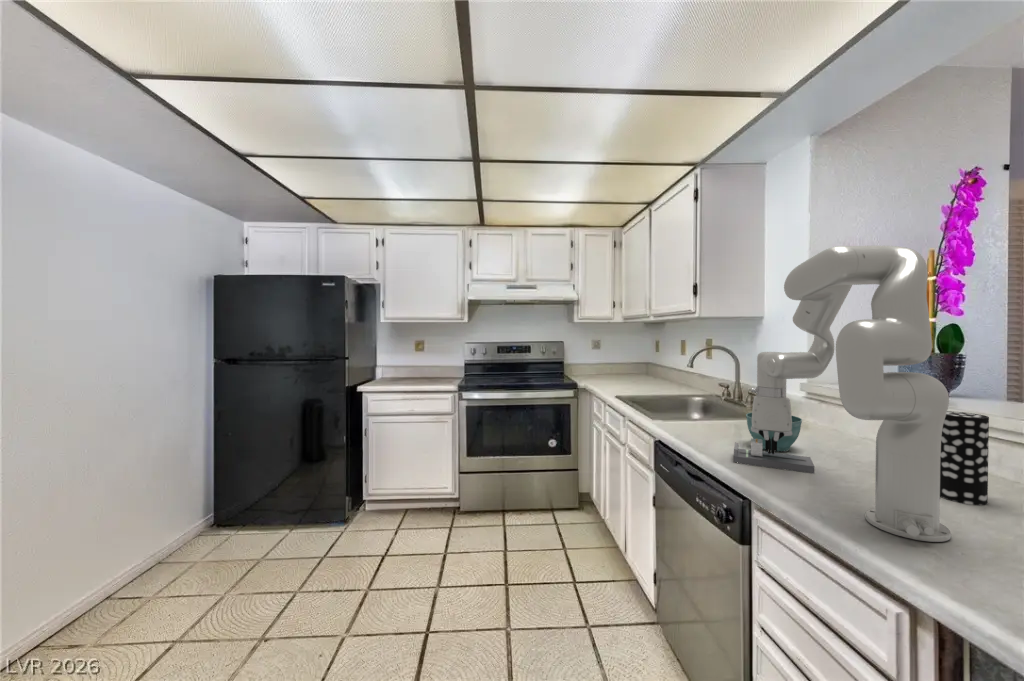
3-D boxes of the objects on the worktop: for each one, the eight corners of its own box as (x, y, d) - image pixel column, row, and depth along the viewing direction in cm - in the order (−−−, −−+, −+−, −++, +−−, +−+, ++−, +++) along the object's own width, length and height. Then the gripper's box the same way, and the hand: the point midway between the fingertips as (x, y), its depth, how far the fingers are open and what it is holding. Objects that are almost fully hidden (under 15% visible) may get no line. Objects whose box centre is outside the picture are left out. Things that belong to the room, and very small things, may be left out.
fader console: (814, 473, 116) (814, 459, 116) (733, 462, 126) (733, 449, 126) (810, 463, 125) (810, 450, 125) (734, 454, 135) (735, 441, 135)
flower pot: (809, 457, 131) (809, 423, 131) (752, 452, 136) (752, 420, 136) (792, 443, 147) (792, 413, 147) (741, 440, 152) (741, 411, 152)
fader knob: (762, 456, 125) (762, 443, 125) (750, 455, 126) (751, 441, 126) (762, 452, 129) (762, 439, 129) (751, 451, 131) (751, 438, 130)
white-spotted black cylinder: (930, 489, 105) (931, 410, 104) (978, 495, 100) (979, 413, 100) (943, 500, 97) (944, 416, 97) (994, 508, 93) (996, 419, 93)
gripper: (742, 392, 126) (742, 452, 126) (802, 396, 118) (802, 459, 119) (743, 389, 132) (743, 446, 133) (800, 392, 125) (799, 453, 125)
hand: (771, 452), depth 126 cm, fingers closed
